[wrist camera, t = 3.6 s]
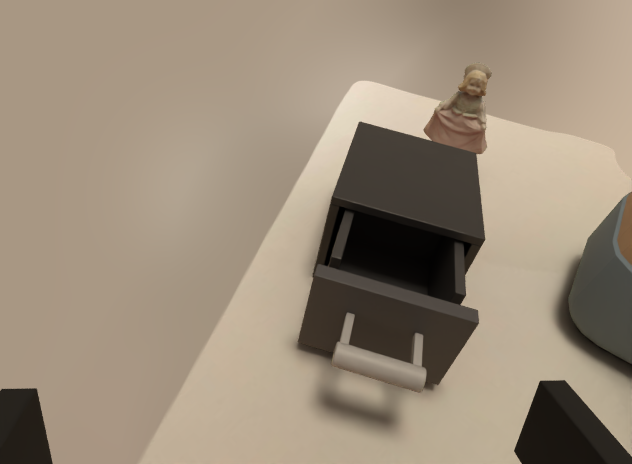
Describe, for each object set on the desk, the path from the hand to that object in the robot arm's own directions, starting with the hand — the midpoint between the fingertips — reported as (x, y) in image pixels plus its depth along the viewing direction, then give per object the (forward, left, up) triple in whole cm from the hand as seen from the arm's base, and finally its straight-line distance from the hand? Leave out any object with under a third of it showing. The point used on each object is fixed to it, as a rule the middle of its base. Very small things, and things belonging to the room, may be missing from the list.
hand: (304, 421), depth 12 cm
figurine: (+9, +52, -19) cm, 56 cm away
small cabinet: (+4, +31, -19) cm, 36 cm away
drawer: (+4, +20, -18) cm, 27 cm away
